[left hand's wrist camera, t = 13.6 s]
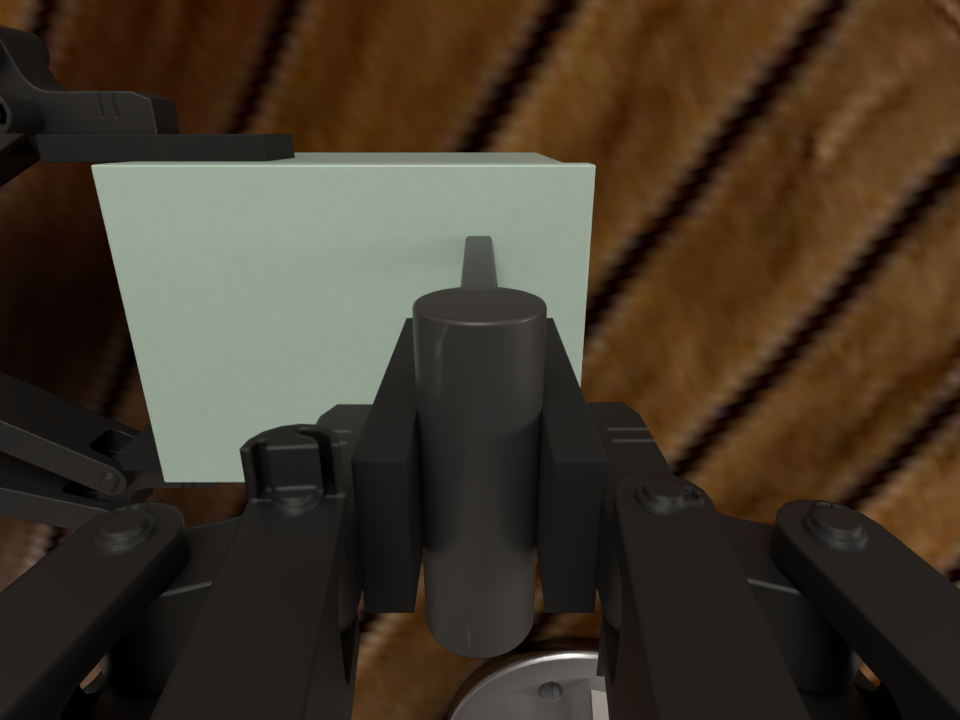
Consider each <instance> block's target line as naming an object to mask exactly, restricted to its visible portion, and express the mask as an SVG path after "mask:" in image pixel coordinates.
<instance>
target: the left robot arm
mask: <svg viewBox="0 0 960 720" xmlns="http://www.w3.org/2000/svg"><path fill="white" fill-rule="evenodd" d="M239 450H240V456H241V462H242V468H243V473H244V479H245V485H246V491H247V496H248V503H247V506H246V508H245V510H244V512H243V514H242V515H241V516H238V517H235V518H232V519H228V520H224V521H220V522H215V523H209V524H204V525H199V526H194V527H189V528H185V524H184V519H183V515H182V513H181V512H180V511H179V510H178V509H177V508H176V507H175V506H172V505H168V504H164V503H160V502H153V503H136V504H131V505H129V506H128V505H126V506H122V507H118V508H116V509H114V510H112V511H110V512H107V513H105V514H103V515H100V516H98V517H96V518H95V519H93V520H91V521H90V522H88V523H87V524H85V525H84V526H82V527H81V528H79V529H78V530H77V531H75V532H74V533H73V534H72V535H70V536H69V537H68V538H67V539H66V540H64V541H63V542H62V543H61V544H59V545H58V546H57V547H56V548H54V549H53V550H52V551H51V552H50V553H48V554H47V555H46V556H45V557H43V558H42V559H41V560H40V561H39V562H37V563H36V564H35V565H34V566H32V567H31V568H30V569H29V570H27V571H26V572H25V573H24V574H23V575H21V576H20V577H19V578H18V579H16V580H15V581H14V582H13V583H12V584H10V585H9V586H8V587H7V588H5V589H4V590H3V591H2V592H1V593H0V720H351V716H352V706H353V697H354V688H355V679H356V670H357V660H358V651H359V642H360V634H359V624H358V614H357V609H358V606H359V602H360V598H361V594H362V590H363V595H364V606H365V613H414V610H415V602H416V595H417V587H418V580H419V573H420V565H421V558H422V551H423V527H422V505H421V482H420V459H419V437H418V414H417V405H416V382H415V360H414V338H413V318H406V321H405V323H404V326H403V328H402V331H401V333H400V336H399V338H398V341H397V343H396V346H395V349H394V351H393V354H392V356H391V359H390V361H389V364H388V366H387V369H386V371H385V374H384V377H383V379H382V382H381V384H380V387H379V389H378V392H377V394H376V397H375V399H374V402H373V404H337V405H335V406H334V407H333V408H331V409H330V410H328V411H327V412H325V413H324V414H322V415H321V416H320V417H319V419H318V421H317V423H316V424H293V425H285V426H279V427H276V428H273V429H270V430H267V431H263V432H261V433H259V434H258V435H256V436H254V437H252V438H250V439H249V440H247V442H246V443H245V444H244V445H243V446H242V447H241V448H240V449H239ZM536 548H537V555H538V562H539V570H540V577H541V585H542V592H543V599H544V607H545V613H594V610H595V599H596V589H598V593H599V597H600V601H601V605H602V609H603V614H602V624H601V634H600V639H595V638H581V637H578V638H556V639H549V640H543V641H538V642H534V643H530V644H526V645H523V646H520V647H517V648H514V649H512V650H511V651H509V652H507V653H505V654H502V655H499V656H497V657H495V658H493V659H492V660H490V661H489V662H487V663H485V664H484V665H483V666H481V667H480V668H479V669H477V670H476V671H475V672H474V673H473V674H472V675H471V676H470V677H469V678H468V679H467V680H466V681H465V682H464V683H463V684H462V686H461V687H460V688H459V690H458V691H457V693H456V695H455V696H454V698H453V700H452V702H451V705H450V708H449V711H448V715H447V720H960V589H959V588H958V587H956V586H955V585H954V584H953V583H951V582H950V581H949V580H948V579H947V578H945V577H944V576H943V575H942V574H940V573H939V572H938V571H937V570H935V569H934V568H933V567H932V566H930V565H929V564H928V563H927V562H925V561H924V560H923V559H922V558H921V557H919V556H918V555H917V554H916V553H914V552H913V551H912V550H911V549H909V548H908V547H907V546H906V545H904V544H903V543H902V542H901V541H899V540H898V539H897V538H896V537H895V536H893V535H892V534H891V533H890V532H888V531H887V530H886V529H885V528H883V527H882V526H881V525H879V524H878V523H876V522H875V521H873V520H872V519H870V518H868V517H867V516H865V515H864V514H862V513H859V512H857V511H855V510H852V509H850V508H847V507H846V506H844V505H841V504H837V503H834V502H832V503H830V502H829V501H822V500H797V501H793V502H789V503H785V504H784V505H783V506H782V507H781V508H780V509H779V510H778V512H777V516H776V521H775V525H774V526H773V525H768V524H763V523H758V522H753V521H748V520H743V519H738V518H734V517H730V516H726V515H723V514H720V513H717V511H716V509H715V507H714V505H713V502H712V501H711V499H710V498H709V497H708V495H707V494H706V493H705V492H704V490H702V489H701V488H699V487H698V486H696V485H695V484H693V483H692V482H690V481H688V480H685V479H682V478H679V477H677V476H674V474H673V473H672V471H671V469H670V467H669V465H668V464H667V462H666V460H665V458H664V457H663V455H662V453H661V451H660V450H659V448H658V446H657V444H656V443H654V439H653V437H652V435H651V434H650V432H649V431H647V427H646V425H645V423H644V421H643V420H642V418H641V416H640V414H638V413H637V412H636V411H634V410H633V409H631V408H630V407H628V406H627V405H625V404H624V403H623V402H586V401H585V399H584V396H583V393H582V391H581V388H580V386H579V383H578V381H577V378H576V376H575V373H574V371H573V368H572V365H571V363H570V360H569V358H568V355H567V353H566V350H565V348H564V345H563V342H562V340H561V337H560V335H559V332H558V330H557V327H556V325H555V322H554V320H553V318H547V320H546V343H545V366H544V389H543V407H542V422H541V445H540V468H539V491H538V514H537V537H536ZM861 659H862V660H863V662H864V663H865V664H866V665H867V666H868V667H869V668H870V669H871V671H872V672H873V673H874V674H875V675H876V676H877V677H878V679H879V680H880V681H881V683H880V685H879V687H876V686H875V685H874V684H873V683H872V682H871V681H870V680H868V679H867V677H866V676H865V675H864V674H863V673H862V672H861V671H860V669H859V665H860V661H861ZM98 663H99V664H100V667H101V670H102V671H101V672H100V673H99V674H98V675H97V677H96V678H95V679H94V680H93V681H92V682H91V683H90V684H89V685H87V686H86V687H85V688H84V689H83V690H82V689H81V688H80V685H79V684H80V683H81V682H82V681H83V680H84V679H85V677H86V676H87V675H88V674H89V673H90V672H91V671H92V670H93V668H94V667H95V666H96V665H97V664H98Z"/></svg>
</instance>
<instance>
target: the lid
mask: <svg viewBox="0 0 960 720" xmlns="http://www.w3.org/2000/svg"><path fill="white" fill-rule="evenodd" d="M91 168H92V172H93V177H94V181H95V185H96V189H97V194H98V198H99V202H100V207H101V211H102V215H103V219H104V224H105V228H106V232H107V237H108V241H109V245H110V249H111V254H112V258H113V262H114V267H115V271H116V275H117V279H118V284H119V288H120V292H121V297H122V301H123V305H124V309H125V314H126V318H127V322H128V327H129V331H130V335H131V340H132V344H133V348H134V352H135V357H136V361H137V365H138V370H139V374H140V378H141V382H142V387H143V391H144V395H145V400H146V404H147V408H148V412H149V417H150V421H151V425H152V430H153V434H154V438H155V442H156V447H157V451H158V455H159V460H160V464H161V468H162V472H163V477H164V481H165V482H245V479H244V473H243V468H242V462H241V456H240V450H239V449H240V448H241V447H242V446H243V445H244V444H245V443H246V442H247V440H249V439H250V438H252V437H254V436H256V435H258V434H259V433H261V432H263V431H267V430H270V429H273V428H276V427H279V426H285V425H293V424H316V423H317V421H318V419H319V417H320V416H321V415H322V414H324V413H325V412H327V411H328V410H330V409H331V408H333V407H334V406H335V405H337V404H373V402H374V399H375V397H376V394H377V392H378V389H379V387H380V384H381V382H382V379H383V377H384V374H385V371H386V369H387V366H388V364H389V361H390V359H391V356H392V354H393V351H394V349H395V346H396V343H397V341H398V338H399V336H400V333H401V331H402V328H403V326H404V323H405V321H406V318H413V338H414V360H415V382H416V405H417V414H418V437H419V459H420V482H421V505H422V527H423V562H424V584H425V606H426V621H427V625H428V628H429V630H430V632H431V634H432V636H433V637H434V638H435V640H436V641H437V642H438V643H439V644H440V645H441V646H443V647H444V648H445V649H447V650H449V651H450V652H452V653H455V654H457V655H460V656H464V657H469V658H491V657H496V656H499V655H502V654H505V653H507V652H509V651H511V650H512V649H514V648H515V647H517V646H518V645H519V644H520V643H521V642H522V641H523V640H524V639H525V638H526V636H527V635H528V633H529V631H530V629H531V627H532V624H533V618H534V595H535V573H536V550H537V548H536V537H537V514H538V491H539V468H540V445H541V422H542V407H543V389H544V366H545V343H546V320H547V318H553V320H554V322H555V325H556V327H557V330H558V332H559V335H560V337H561V340H562V342H563V345H564V348H565V350H566V353H567V355H568V358H569V360H570V363H571V365H572V368H573V371H574V373H575V376H576V378H577V381H578V383H579V386H581V371H582V357H583V342H584V328H585V313H586V299H587V284H588V270H589V255H590V241H591V226H592V212H593V197H594V183H595V168H596V167H595V165H593V164H590V163H109V164H97V165H92V166H91Z"/></svg>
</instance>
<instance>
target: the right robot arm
mask: <svg viewBox="0 0 960 720" xmlns="http://www.w3.org/2000/svg"><path fill="white" fill-rule="evenodd" d="M49 58H50V56H49V52H48V49H47V47H46V45H45V44H44V42H43V41H42V40H41V39H40V38H39V37H38V36H36V35H35V34H33V33H30V32H27V31H23V30H18V29H14V28H9V27H5V26H0V187H1V186H3V185H4V184H6V183H7V182H9V181H10V180H11V179H13V178H14V177H16V176H17V175H19V174H20V173H22V172H23V171H25V170H26V169H27V168H29V167H30V166H32V165H33V164H35V163H36V162H38V161H39V160H41V161H42V162H133V161H274V160H281V159H289V158H295V154H294V145H293V137H292V134H180V132H179V127H178V121H177V116H176V110H175V104H174V101H172V100H170V99H167V98H165V97H162V96H160V95H157V94H151V93H142V92H134V91H68V90H67V89H65V88H63V87H62V86H61V85H60V84H59V83H58V82H57V81H56V79H55V78H54V76H53V75H52V73H51V71H50V70H49V68H48V65H49ZM220 484H223V482H165V481H164V477H163V472H162V468H161V464H160V460H159V455H158V451H157V447H156V442H155V438H154V434H153V430H152V425H151V423H150V424H149V425H148V426H147V427H145V428H144V429H143V430H142V431H141V432H140V431H138V430H135V429H133V428H131V427H128V426H126V425H124V424H121V423H119V422H117V421H115V420H112V419H110V418H108V417H105V416H103V415H101V414H98V413H96V412H94V411H92V410H89V409H87V408H85V407H82V406H80V405H78V404H75V403H73V402H71V401H69V400H66V399H64V398H62V397H59V396H57V395H55V394H52V393H50V392H48V391H46V390H43V389H41V388H39V387H36V386H34V385H32V384H29V383H27V382H25V381H23V380H20V379H18V378H16V377H13V376H11V375H9V374H6V373H4V372H2V371H0V515H4V516H9V517H14V518H18V519H23V520H28V521H33V522H38V523H43V524H47V525H52V526H57V527H62V528H67V529H71V530H76V531H77V530H78V529H79V528H81V527H82V526H84V525H85V524H87V523H88V522H90V521H91V520H93V519H95V518H96V517H98V516H100V515H103V514H105V513H107V512H110V511H112V510H114V509H116V508H118V507H122V506H126V505H128V506H129V505H131V504H136V503H144V502H145V501H146V500H147V499H148V498H149V497H150V496H151V494H152V493H153V490H154V489H153V488H183V487H185V488H194V487H196V488H212V487H215V486H217V485H220Z"/></svg>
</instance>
